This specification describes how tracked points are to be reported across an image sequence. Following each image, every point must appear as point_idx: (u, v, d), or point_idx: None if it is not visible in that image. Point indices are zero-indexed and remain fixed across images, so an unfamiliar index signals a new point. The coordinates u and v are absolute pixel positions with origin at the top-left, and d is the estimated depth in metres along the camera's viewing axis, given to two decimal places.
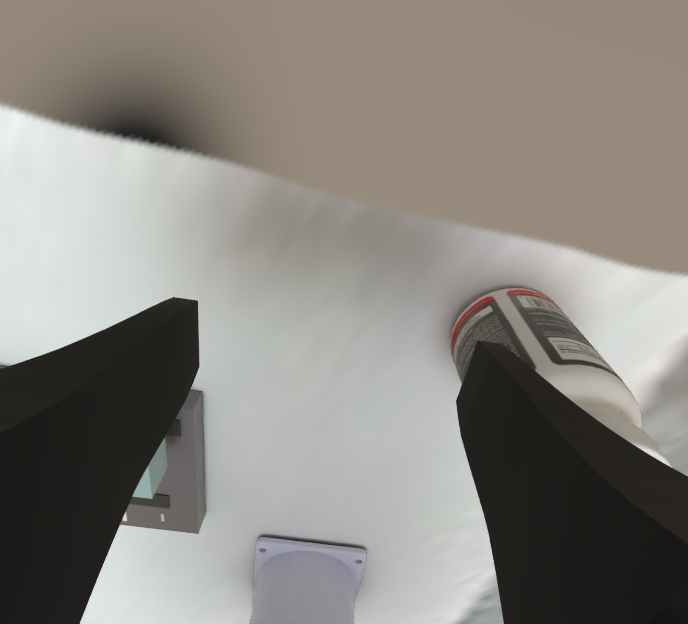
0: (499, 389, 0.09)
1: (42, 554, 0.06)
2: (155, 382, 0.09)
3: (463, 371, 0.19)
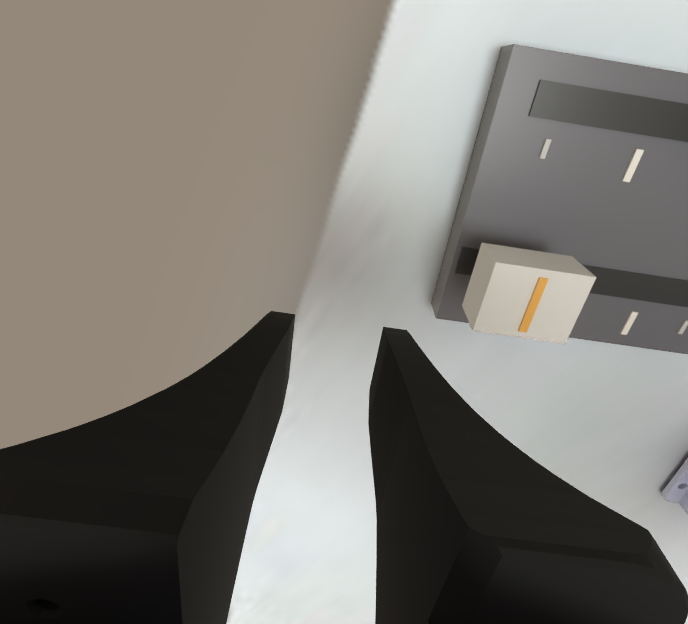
0: (389, 374, 0.09)
1: (218, 575, 0.06)
2: (271, 397, 0.09)
3: None
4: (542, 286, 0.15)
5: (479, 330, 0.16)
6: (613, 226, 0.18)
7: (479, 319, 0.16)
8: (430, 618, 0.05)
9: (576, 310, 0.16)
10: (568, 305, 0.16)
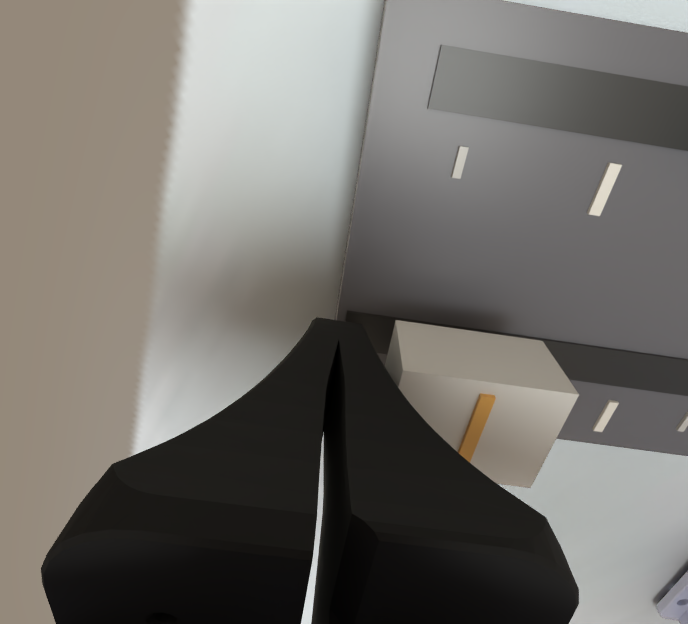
0: (336, 367, 0.09)
1: None
2: (325, 404, 0.09)
3: None
4: (487, 406, 0.09)
5: None
6: (576, 282, 0.11)
7: None
8: (330, 607, 0.05)
9: (546, 442, 0.09)
10: (532, 435, 0.09)
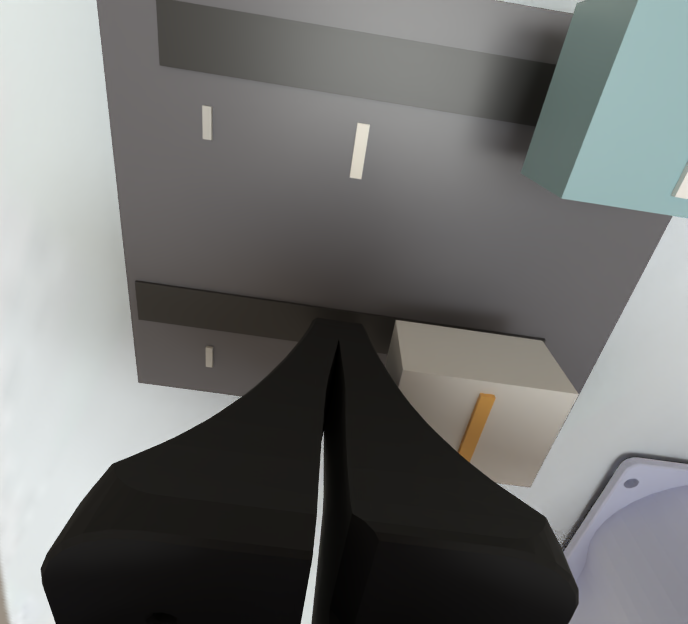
0: (337, 367, 0.09)
1: None
2: (325, 404, 0.09)
3: None
4: (486, 406, 0.09)
5: None
6: (358, 249, 0.11)
7: None
8: (330, 607, 0.05)
9: (546, 442, 0.09)
10: (532, 434, 0.09)
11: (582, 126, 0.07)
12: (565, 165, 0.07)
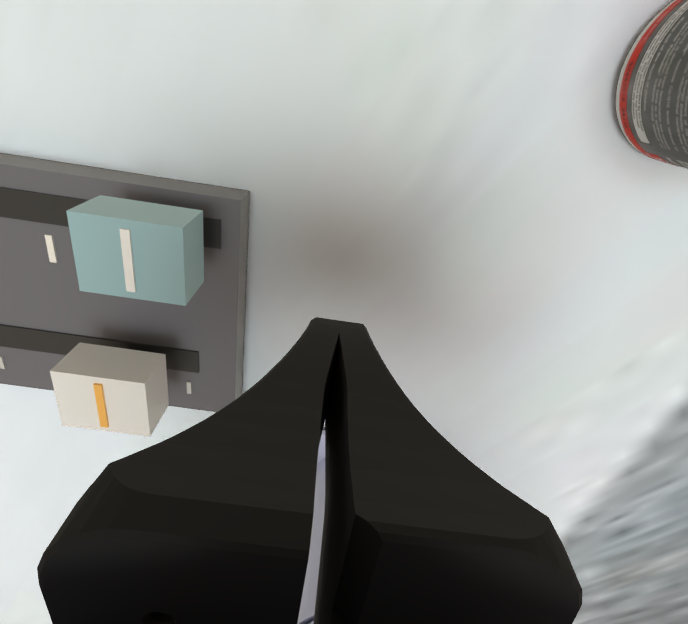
0: (338, 367, 0.09)
1: None
2: (324, 404, 0.09)
3: (675, 73, 0.13)
4: (101, 390, 0.17)
5: (68, 425, 0.18)
6: (70, 300, 0.19)
7: (62, 416, 0.18)
8: (333, 607, 0.05)
9: (143, 409, 0.17)
10: (134, 405, 0.17)
11: None
12: (81, 275, 0.15)
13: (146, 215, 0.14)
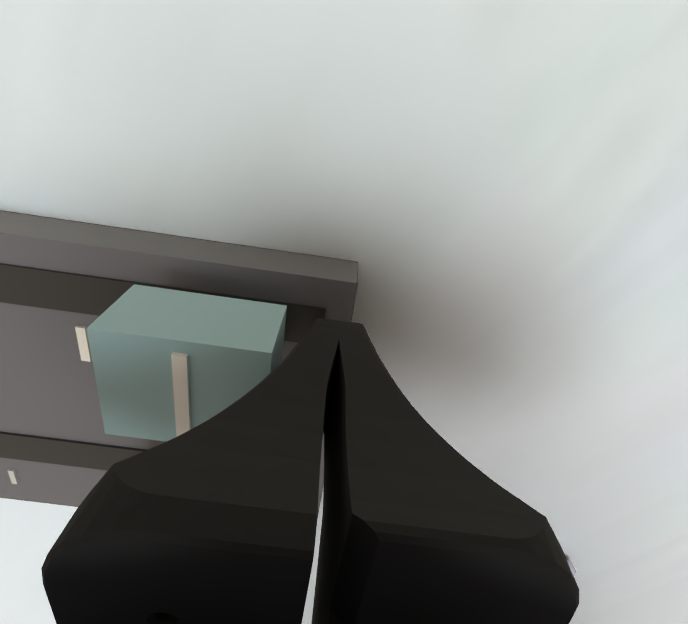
0: (336, 367, 0.09)
1: None
2: (326, 404, 0.09)
3: None
4: None
5: None
6: None
7: None
8: (331, 607, 0.05)
9: None
10: None
11: None
12: (108, 410, 0.10)
13: (210, 327, 0.09)
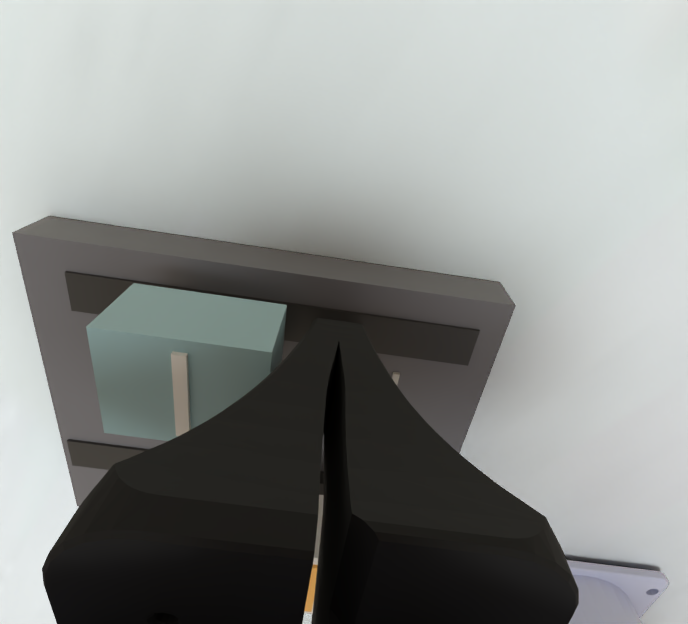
0: (336, 367, 0.09)
1: None
2: (326, 404, 0.09)
3: None
4: (316, 571, 0.12)
5: None
6: None
7: None
8: (330, 607, 0.05)
9: None
10: None
11: None
12: (106, 409, 0.10)
13: (210, 326, 0.09)
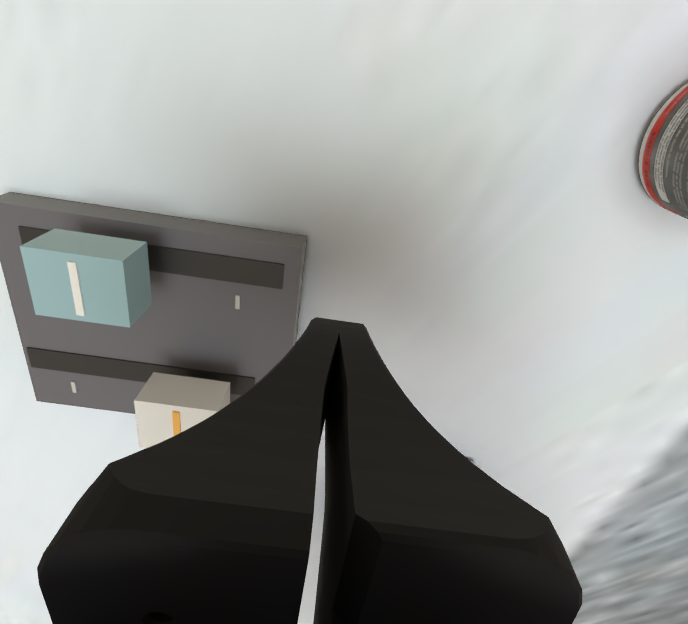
0: (338, 367, 0.09)
1: None
2: (324, 404, 0.09)
3: None
4: (178, 416, 0.19)
5: (144, 446, 0.20)
6: (141, 332, 0.21)
7: (141, 439, 0.20)
8: (333, 607, 0.05)
9: None
10: None
11: None
12: (37, 301, 0.17)
13: (92, 249, 0.16)
